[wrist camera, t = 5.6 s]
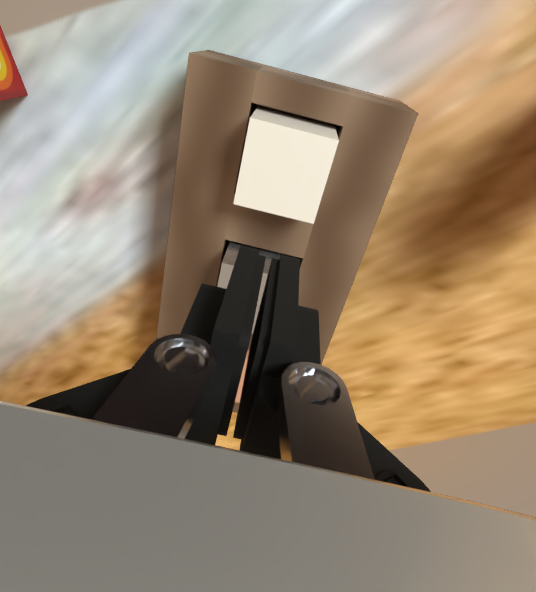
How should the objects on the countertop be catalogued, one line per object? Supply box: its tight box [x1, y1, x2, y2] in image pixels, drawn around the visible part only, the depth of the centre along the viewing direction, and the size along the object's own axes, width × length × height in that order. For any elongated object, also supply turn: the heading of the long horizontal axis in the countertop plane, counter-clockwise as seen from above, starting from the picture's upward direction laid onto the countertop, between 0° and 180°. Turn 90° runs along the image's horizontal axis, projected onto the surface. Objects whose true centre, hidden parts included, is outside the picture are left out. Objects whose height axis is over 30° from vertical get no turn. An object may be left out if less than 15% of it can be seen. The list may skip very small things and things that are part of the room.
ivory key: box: [233, 106, 339, 224], centre depth 23 cm, size 4×4×4 cm
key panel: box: [156, 50, 418, 413], centre depth 30 cm, size 12×24×5 cm, turn 167°
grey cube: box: [217, 241, 297, 334], centre depth 28 cm, size 4×4×4 cm
